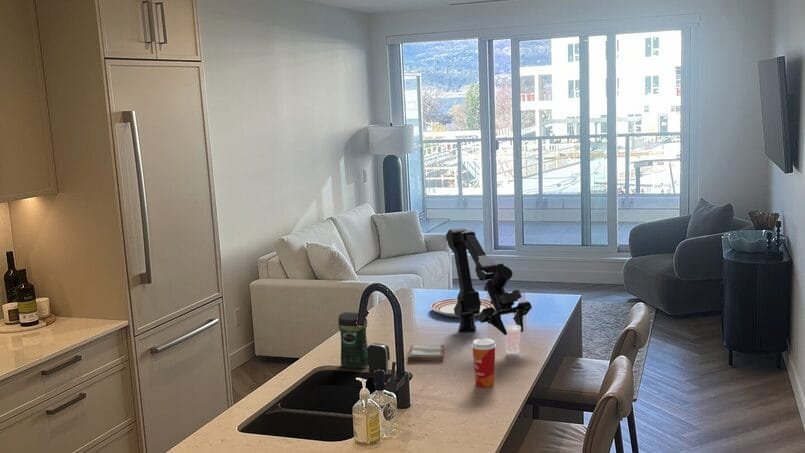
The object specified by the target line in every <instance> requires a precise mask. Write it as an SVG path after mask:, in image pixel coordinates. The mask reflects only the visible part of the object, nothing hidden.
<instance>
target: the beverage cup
mask: <svg viewBox="0 0 805 453" xmlns="http://www.w3.org/2000/svg"><path fill="white" fill-rule="evenodd" d="M513 314H514V313H510V316H511V317H510V318H511V319H510V320H511V321H510V322H511V323H510V324H504V327H505V329H506V332H507V335H504V342H505V343H504V345H505V353H507V354H508V355H516V354H519V353H520V344H521V343H520V342H521V331H520V330H521V326H520V325H517V324H516V323H515V324H514V319H513V318H514V315H513Z"/></svg>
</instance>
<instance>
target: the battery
mask: <svg viewBox="0 0 805 453" xmlns="http://www.w3.org/2000/svg"><path fill="white" fill-rule="evenodd" d="M367 346H368V348H367V358H368V365H367V366H368V378H370V379H373V378H372V375H373V373H374V371H375V370H378V369H380V370H384V371H385V373H389V360H391V359H390V358H391V356H390V348H389V346H388V344H384V343H379V342H378V343H377V342H376V343H375V342H374V343H371V344H369V345H367Z"/></svg>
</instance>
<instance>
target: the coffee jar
mask: <svg viewBox="0 0 805 453" xmlns="http://www.w3.org/2000/svg"><path fill="white" fill-rule="evenodd" d="M358 313H359V312H346V311H344V312H342V313H340V314H339V315H338V321H337V322H338V324H337V325H338V329H339V333H340V365H341V366H342V367H343V368H348V369H349V368H350V369H362V368H365V367H367V366H368V358H367V348H368V346H369V345H368V341H367V326H368V319H367V317H366V318H365V323H364V326H362V327H359V326H357V324H356V322H357V317H358Z"/></svg>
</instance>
